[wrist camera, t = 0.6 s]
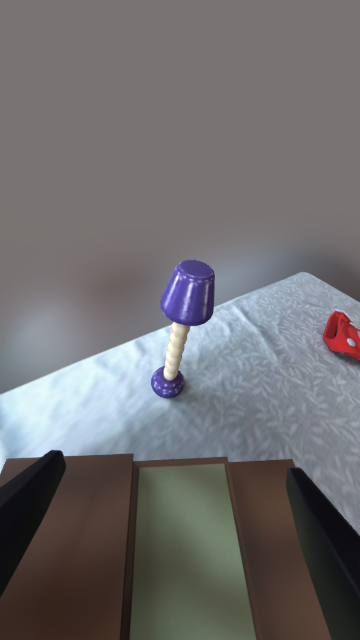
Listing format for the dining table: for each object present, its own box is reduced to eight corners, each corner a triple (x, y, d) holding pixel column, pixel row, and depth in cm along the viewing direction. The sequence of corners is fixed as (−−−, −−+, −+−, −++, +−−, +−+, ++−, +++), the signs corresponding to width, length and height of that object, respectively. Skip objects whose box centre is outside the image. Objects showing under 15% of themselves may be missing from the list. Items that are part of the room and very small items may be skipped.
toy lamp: (142, 375, 26) (153, 259, 15) (169, 358, 29) (197, 248, 18) (164, 405, 24) (198, 296, 13) (192, 384, 27) (241, 277, 15)
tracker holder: (391, 359, 36) (371, 363, 31) (363, 368, 39) (340, 373, 34) (348, 303, 42) (324, 298, 36) (327, 315, 45) (302, 312, 39)
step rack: (368, 706, 13) (509, 813, 8) (-84, 849, 9) (-342, 1245, 4) (282, 463, 22) (325, 445, 17) (39, 476, 18) (6, 458, 13)
